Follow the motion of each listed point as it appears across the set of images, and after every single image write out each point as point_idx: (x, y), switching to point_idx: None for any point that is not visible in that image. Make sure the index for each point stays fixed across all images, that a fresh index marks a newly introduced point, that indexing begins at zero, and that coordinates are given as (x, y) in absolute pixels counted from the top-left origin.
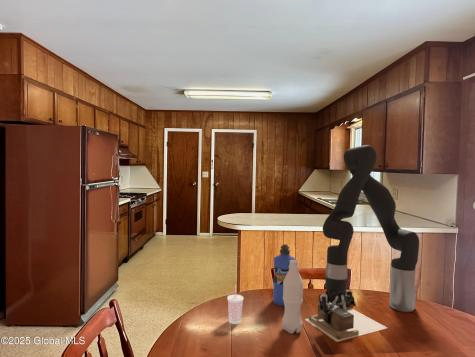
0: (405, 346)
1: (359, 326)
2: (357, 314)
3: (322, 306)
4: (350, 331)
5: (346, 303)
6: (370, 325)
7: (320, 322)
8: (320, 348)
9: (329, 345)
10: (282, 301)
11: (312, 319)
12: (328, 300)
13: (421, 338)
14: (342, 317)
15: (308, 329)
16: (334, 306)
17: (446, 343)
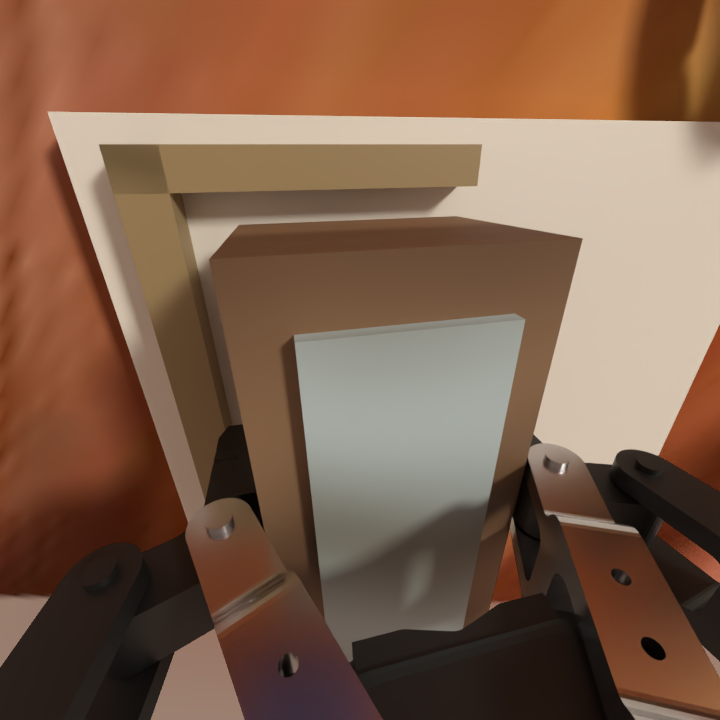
0: None
1: None
2: (713, 258)
3: (91, 655)
4: None
5: (652, 527)
6: (601, 436)
7: (197, 362)
8: (56, 564)
9: (153, 542)
10: None
11: (131, 241)
12: (308, 714)
13: (670, 531)
14: None
15: (60, 302)
16: (456, 473)
17: (694, 563)
